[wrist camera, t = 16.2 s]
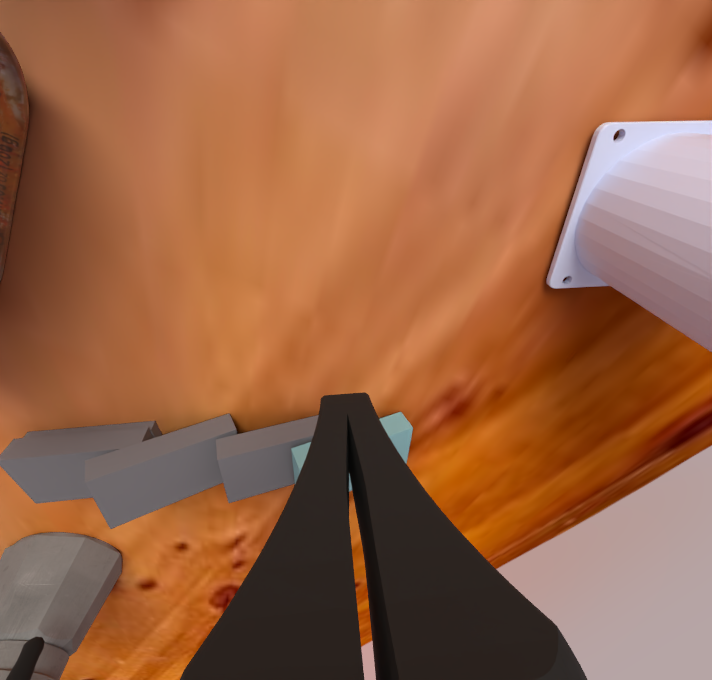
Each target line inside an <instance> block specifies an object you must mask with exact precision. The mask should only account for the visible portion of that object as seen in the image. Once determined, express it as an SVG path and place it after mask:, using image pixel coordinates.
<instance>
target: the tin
mask: <svg viewBox="0 0 712 680" xmlns="http://www.w3.org/2000/svg"><path fill="white" fill-rule="evenodd" d="M28 123H29V103H28V94H27V88H26V84H25V80H24V76H23V72H22V70H21V67H20V65H19V62H18V60H17V58H16V56H15V54H14V52H13V50H12V48H11V47H10V45H9V43H8V42H7V40H6V39H5V37H4V36H3V35H2V34H1V32H0V281H1V279H2V275H3V271H4V266H5V260H6V253H7V248H8V242H9V235H10V231H11V223H12V218H13V211H14V206H15V200H16V194H17V188H18V184H19V178H20V172H21V166H22V160H23V154H24V149H25V143H26V137H27V131H28Z"/></svg>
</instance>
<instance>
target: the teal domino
mask: <svg viewBox="0 0 712 680" xmlns="http://www.w3.org/2000/svg"><path fill="white" fill-rule="evenodd" d="M379 420H380V422H381V424H382V425H383V427H384V429H385V431H386V433H387V434H388V436H389V438H390V439H391V441H392V443H393V444H394V446H395V448H396V449H397V451H398V452H399V454H400V456H401V457H402V459H403V460H404V462H405V463H407V457H408V452H409V447H410V441H411V436H412V431H413V427H412V426H411V424H410V423H409V422H408V420H407V419H406V418H405V416H404V415H403V414H402V412H398V413H395V414H392V415H389V416H386V417H383V418H380V419H379ZM310 444H311V442H309V443H306V444H303V445H300V446H297V447H294V448H291V452H292V461H293V471H294V480H295V484H296V481H297V479H298V476H299V474H300V471H301V469H302V466H303V464H304V461H305V459H306V456H307V453H308V450H309V447H310ZM351 490H352V485H351V480H350V474H349V491H351Z"/></svg>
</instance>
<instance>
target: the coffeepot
mask: <svg viewBox="0 0 712 680" xmlns="http://www.w3.org/2000/svg"><path fill="white" fill-rule="evenodd" d="M121 572H122V556H121V554H120V553H119V551H118V550H117V549H115V548H114V547H113V546H111V545H110V544H108V543H106V542H104V541H101V540H99V539H96V538H93V537H89V536H85V535H80V534H74V533H64V532H50V533H40V534H35V535H30V536H27V537H25V538H22V539H21V540H19V541H17V542H16V543H15V544H14V545H12V546H10V547H8V548H6V549H5V550H4V553H3V555H2V557H1V559H0V680H60V677H61V675H62V673H63V671H64V668H65V666H66V664H67V662H68V659H69V656H71V655H72V654H73V653H75V652H76V651H77V649H78V647H79V646H80V644H81V642H82V640H83V639H84V637H85V635H86V633H87V632H88V630H89V628H90V626H91V625H92V623H93V621H94V619H95V618H96V616H97V614H98V613H99V611H100V609H101V607H102V606H103V604H104V602H105V600H106V599H107V597H108V595H109V593H110V592H111V590H112V588H113V586H114V585H115V583H116V581H117V579H118V578H119V576H120V574H121Z"/></svg>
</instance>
